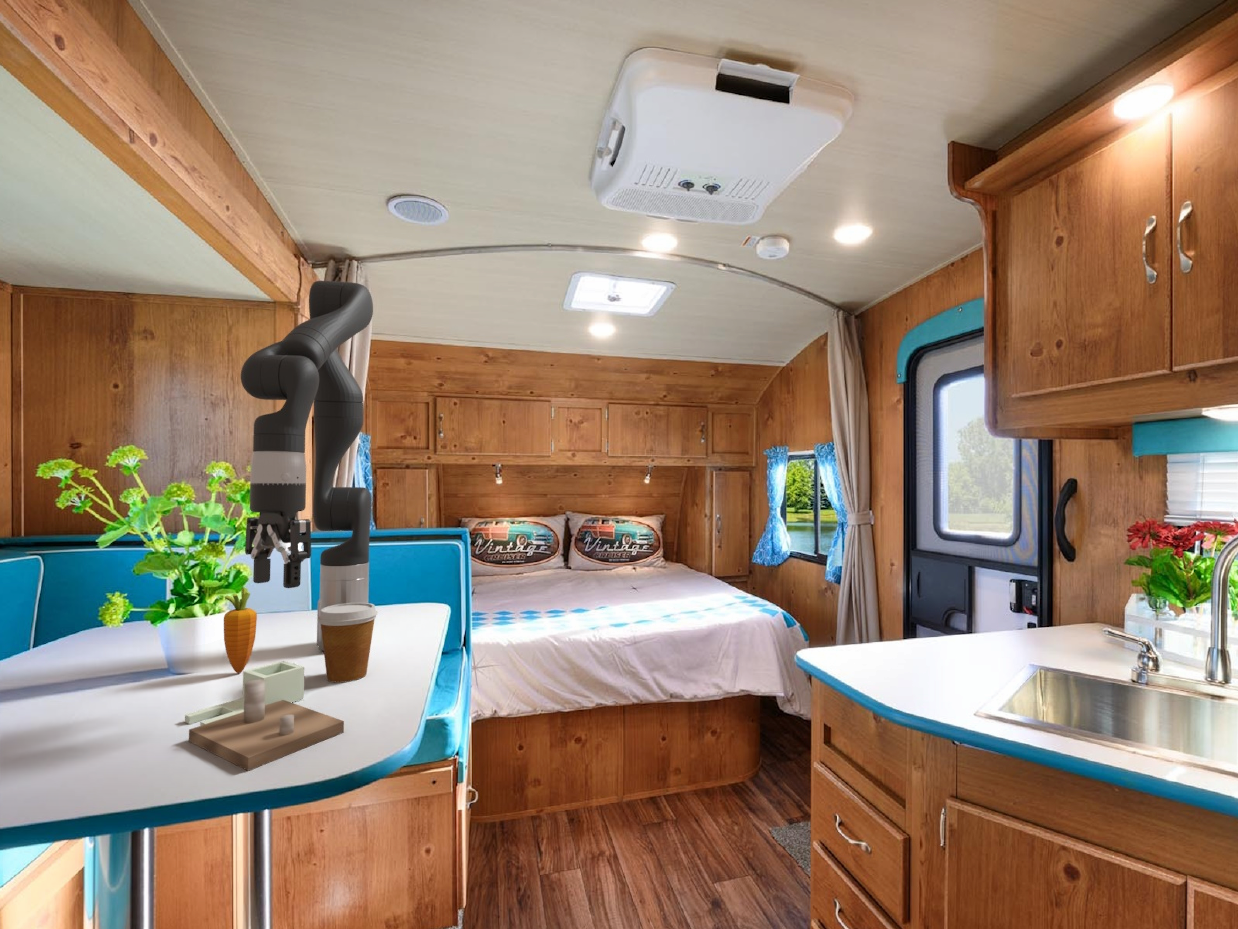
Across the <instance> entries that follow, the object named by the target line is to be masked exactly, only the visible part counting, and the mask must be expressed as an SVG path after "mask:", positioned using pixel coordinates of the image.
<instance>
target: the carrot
mask: <svg viewBox="0 0 1238 929" xmlns="http://www.w3.org/2000/svg"><path fill="white" fill-rule="evenodd" d="M240 593H241V595H240V596H241V598H239V595H238V594H237V593H233V594H232V596H230V595H227V594H226V595H225V596H224V599H225V600H227V601H229V602H230V603H231V604H232V606H234V609H231V610H229V611H227V612H226V613H225V614H224V616H223V642H224V647H225V652H226V657H227V660H228V662H229V664H230V666H231V667H232V669H233V671H234V672H235V673H236V674H238V675H239V674H241V673H242V672H243V671H245V668H246V666H247V664H248V662H249V660H250V658H251V655H252V653H253V652H252V651H253V648H254V644H255V641H256V632H257V622H258V621H257V619H258V616H257V611H255V610H254V609H252V608H249V607H248V608H247V607H246V606H247V602H248V600H249V598H250V596H251V593H250V591H249V590H248V588H247V587H242V588H241V592H240Z"/></svg>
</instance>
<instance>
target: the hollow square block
mask: <svg viewBox="0 0 1238 929" xmlns="http://www.w3.org/2000/svg"><path fill="white" fill-rule="evenodd" d="M242 672H243V673H242V697H240V698H238V699H233V700H230V701H228V702H227V701H226V702H223V703H219V704H217V705H214V706H210V707H207V708H204V709H200V710H196V711H193V712H190V713H187V714H185V715H184V723H186V724H188V725H192V724H195V723H198V722H200V725H199V726H202V725H205V724H208V723H211V722H214V721H217V720H221V719H224V718H227V717H230V716H233V715H236V714H239V713H243V712H244V687H245V683H247V682H249V681H253V680H265V705H268V704H271V703H274V702H277V701H280V700H285V701H288V702H293V703H296V702H295V701H297V702H299V701H298V700H300V699H303V698H305V696H304V695H305V666H303V665H300V664H297V663H296V664H295V663H292V662H288V661H285V660H281V661H278V662H274V663H270V664H265V665H262V666H258V667H255V668H254V667H253V668H251V669H247V670H243V671H242ZM303 700H304V699H303ZM300 701H301V700H300Z"/></svg>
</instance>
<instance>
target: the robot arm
mask: <svg viewBox="0 0 1238 929" xmlns="http://www.w3.org/2000/svg"><path fill="white" fill-rule="evenodd" d="M308 310H309V311H308V312H309V319H308V320H306V321H303V322H302V323H299V324H298V325H296V326H295V327H294V328H293V329H292V330H290V331H289V333H288V334H287V335H285V337H284V338H283V339H282V340H281V341H278V342H274V343H272V344H270V345H268V346H264V347H263V348H261V349H259V350H257V351H255V352H254V353H252V354H251V355H250V356H249V357H248V358H247V359H246V360H245V361H244V363H243V365H242V367H241V371H240V382H241V385H242V388H243V389H244V391H245V392H246V393H247V394H248V395H250V396H251V397H253V398H255V399H259V400H263V401H264V400H265V401H266V400H269V401H284V402H285V403H284V404H283V406H282V407H281V408H280V409H279V410H278V411H275V412H271V413H270V412H269V413H267V414H262V415H259V416H257V417H256V418H255V420H254V422H253V440H252V457H251V464H250V480H249V481H250V484H249V511H250V512H252V513H259V514H258V516H253V517H247V519H246V528H245V529H246V530H245V545H244V546H245V547H244V552H245V555H250V558H251V559H252V560H253V575H252V576H253V579H252V581H253V583H255V584H263V583H264V584H265V583H270V580H271V558H270V557H271V555H272V553H273V551H274V549H275V550H276V552H279V553H280V555H281V557H282V559H283V561H284V563H283V576H282V578H283V579H282V580H283V581H282V582H283V584H282V585H283V587H284V588H285V589H292V588H298V587H300V585H301V580H302V579H301V577H302V576H301V575H302V574H301V573H302V571H301V570H302V563H303V562H304V560H307V559H310V558H311V556H312V524H311V520H310V519H309V518H306V519H305V518H304V519H303V518H302V519H298V512H303V511H305V509H306V504H307V503H306V499H307V497H306V496H307V492H306V491H307V464H306V428H307V425H308V420H309V417H310V413H311V410H312V407H313V422H314V423H313V427H314V448H315V450H314V451H315V452H314V453H315V457H314V459H315V461H314V462H315V466H314V482H313V499H312V500H313V501H312V516H313V523H314V526H315V528H316V529H317V530H318V531H321V532H336V531H337V532H343V531H345V532H346V531H348V532H350V531H351V532H352V533H351V537H350V538H348V539H347V540H346V541H344V542H342V543H341V544H337V545H335V546H331V547H329V548H326V549H324V550H323V551H321V553H320V558H319V560H320V562H319V563H320V568H319V569H320V572H319V599H318V601H317V618H316V619H317V621H316V626H317V627H316V646H317V647H318V650H320V651H323V652H324V648H323V640H322V631H321V624H320V623H319V620H318V616H320V613H321V609H323V608H325V607H328V606H332V605H338V604H346V603H369V590H370V589H369V588H370V587H369V582H370V576H369V575H370V573H369V571H370V534H371V532H370V531H371V518H372V502H373V501H372V495H371V492H370V490H369V489H368V488H366V487H363V486H359V487H357V486H355V487H352V486H351V487H350V486H349V487H348V486H343V487H342V486H336V487H335V486H334V479H335V474H336V471H337V468H338V466H339V464H340V463H341V461H342V459H343V457H344V456H345V455H346V452H348V450H349V449H350V447H351V446H352V445H353V443H354V442H355V440H356V439H357V437H358V436H359V434H360V433H361V431H362V430H363V425H364V395H363V394H364V393H363V392H362V389H361V386H360V385H359V383H358V382H357V380H356V378H355V377H354V376H353V374H352V372H351V371H350V369H349V368H348V366H347V365H346V363H345V362H344V360H343V359H342V357H341V355H340V352H339V350H338V348H339V347H340V346H341V345H343V344H344V343H346V342H347V341H349V340H350V339H352V337H354V336H355V335H357V334H358V333H360V332H361V331H363V330H364V329H365V328H367V327H368V326H369V325H370V322H371V321H372V318H373V314H374V304H373V299H372V295H371V292H370V290H369V289H368V287H367V286H365V285H363V284H361V283H357V282H351V281H350V282H349V281H338V280H337V281H336V280H335V281H334V280H316V281H313V283H312V284H311V286H310V290H309V294H308ZM301 547H303V550H302V548H301Z"/></svg>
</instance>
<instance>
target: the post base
mask: <svg viewBox="0 0 1238 929" xmlns="http://www.w3.org/2000/svg"><path fill="white" fill-rule="evenodd" d="M344 722H345V720H341V719H339V718H337V717H333V716H330V715H328V714H325V713H323V712H322V713H321V712H319V711H316V710H315V709H311V708H308V707H305V706H302V705H299V704H297V703H295V702H293V703H291V702H288V701H285V700H280V701H277V702H274V703H271V704H268V705H265V680H253V681H249V682H247V683H245V687H244V712H243V713H239V714H236V715H233V716H230V717H227V718H224V719H221V720H217V721H214V722H211V723H208V724H205V725H202V726H200V725H199V726H197V727H193V728H190V729H188V730H189V731H188V742H190V743H192V744H194V745H195V746H197V747H200V748H202V749H204V750H206V751H208V752H210V753H212V754H213V755H216V756H218V757H220V758H222V759H224V760H226V761H227V762H230V763H233V764H234V765H236V766H238V767H240V768H242V769H244V770H246V771H248V772H249V771H251V770H254V769H256V768H258V767H261V766H264V765H266V764H268V763H271V762H274V761H277V760H279V759H281V758H283V757H286V756H289V755H291V754H293V753H296V752H299V751H300V750H303V749H306V748H308V747H310V746H313V745H315V744H319V743H320V742H323V741H325V740H328V739H331V738H333V737H335V736H338V735H340V733H341V734H343V733H344V731H345V730H344V727H345V724H344ZM342 732H343V733H342Z"/></svg>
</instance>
